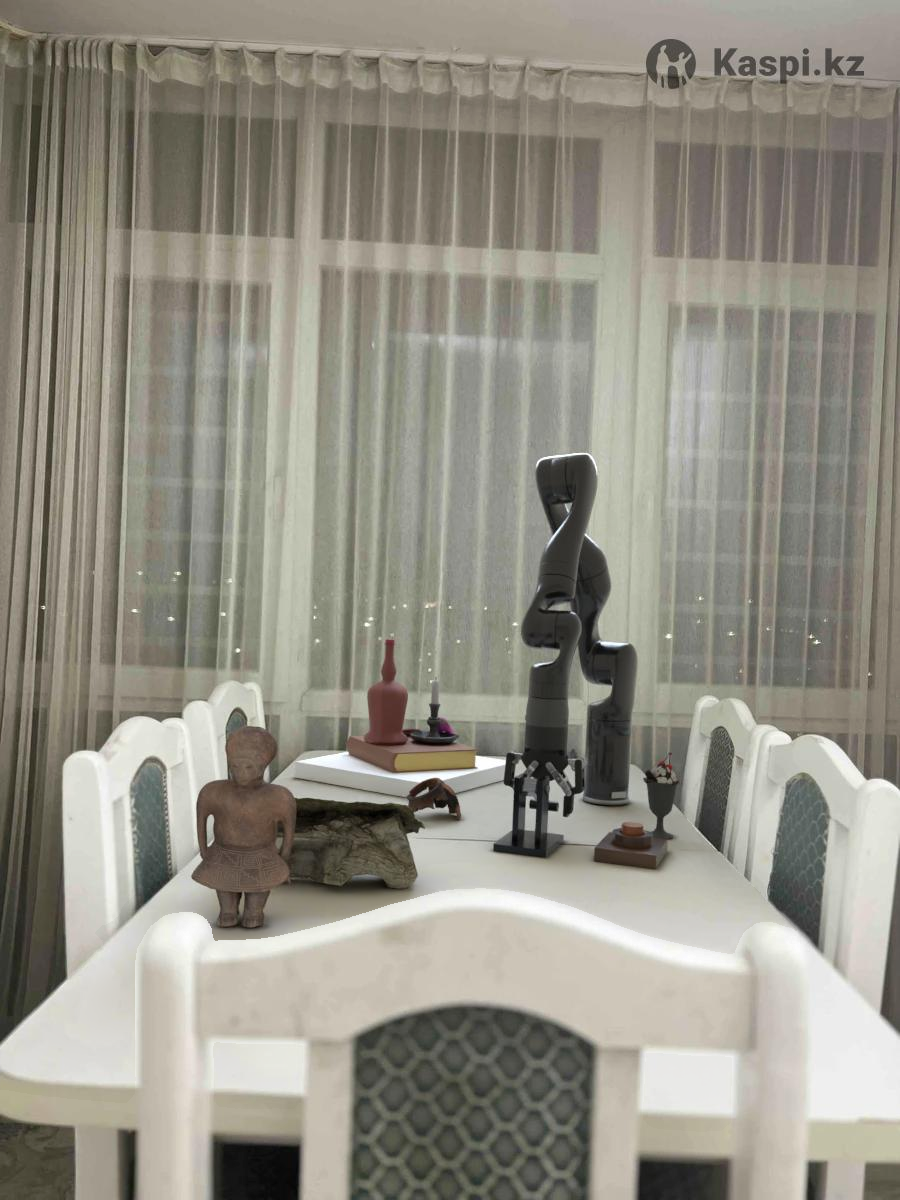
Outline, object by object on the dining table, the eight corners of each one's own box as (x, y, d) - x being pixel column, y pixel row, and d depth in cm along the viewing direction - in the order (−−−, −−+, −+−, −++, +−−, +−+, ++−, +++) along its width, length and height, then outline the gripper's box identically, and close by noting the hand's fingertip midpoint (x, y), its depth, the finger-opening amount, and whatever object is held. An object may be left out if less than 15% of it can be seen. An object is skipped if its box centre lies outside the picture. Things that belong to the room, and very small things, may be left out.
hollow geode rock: (230, 910, 152) (214, 855, 141) (243, 834, 161) (229, 776, 150) (423, 912, 152) (422, 857, 141) (425, 836, 161) (425, 778, 150)
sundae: (680, 834, 191) (683, 752, 191) (675, 842, 185) (679, 757, 185) (643, 829, 194) (647, 748, 193) (638, 837, 187) (641, 754, 187)
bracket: (513, 835, 185) (516, 768, 185) (563, 841, 182) (566, 774, 182) (493, 850, 174) (496, 779, 174) (545, 857, 171) (548, 785, 171)
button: (623, 831, 176) (623, 820, 176) (644, 833, 175) (645, 823, 175) (619, 835, 173) (619, 825, 173) (641, 838, 172) (641, 827, 172)
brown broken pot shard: (463, 826, 192) (444, 788, 190) (417, 845, 194) (397, 807, 192) (467, 797, 204) (449, 761, 202) (424, 814, 205) (405, 779, 204)
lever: (530, 811, 187) (532, 798, 188) (557, 814, 186) (559, 801, 187) (514, 790, 177) (516, 776, 178) (543, 793, 175) (545, 779, 176)
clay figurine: (180, 933, 128) (187, 729, 127) (199, 908, 138) (206, 718, 137) (286, 938, 128) (294, 733, 127) (298, 912, 138) (305, 722, 137)
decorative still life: (522, 774, 245) (528, 642, 244) (427, 801, 211) (433, 648, 210) (399, 755, 263) (405, 633, 263) (294, 777, 230) (300, 636, 229)
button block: (608, 844, 181) (609, 821, 181) (667, 852, 178) (668, 828, 178) (593, 861, 170) (594, 836, 170) (655, 869, 167) (657, 844, 167)
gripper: (591, 723, 187) (586, 814, 187) (514, 716, 192) (510, 805, 192) (581, 728, 180) (577, 822, 180) (502, 721, 185) (497, 812, 185)
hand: (542, 813), depth 186 cm, fingers open, 8 cm apart
